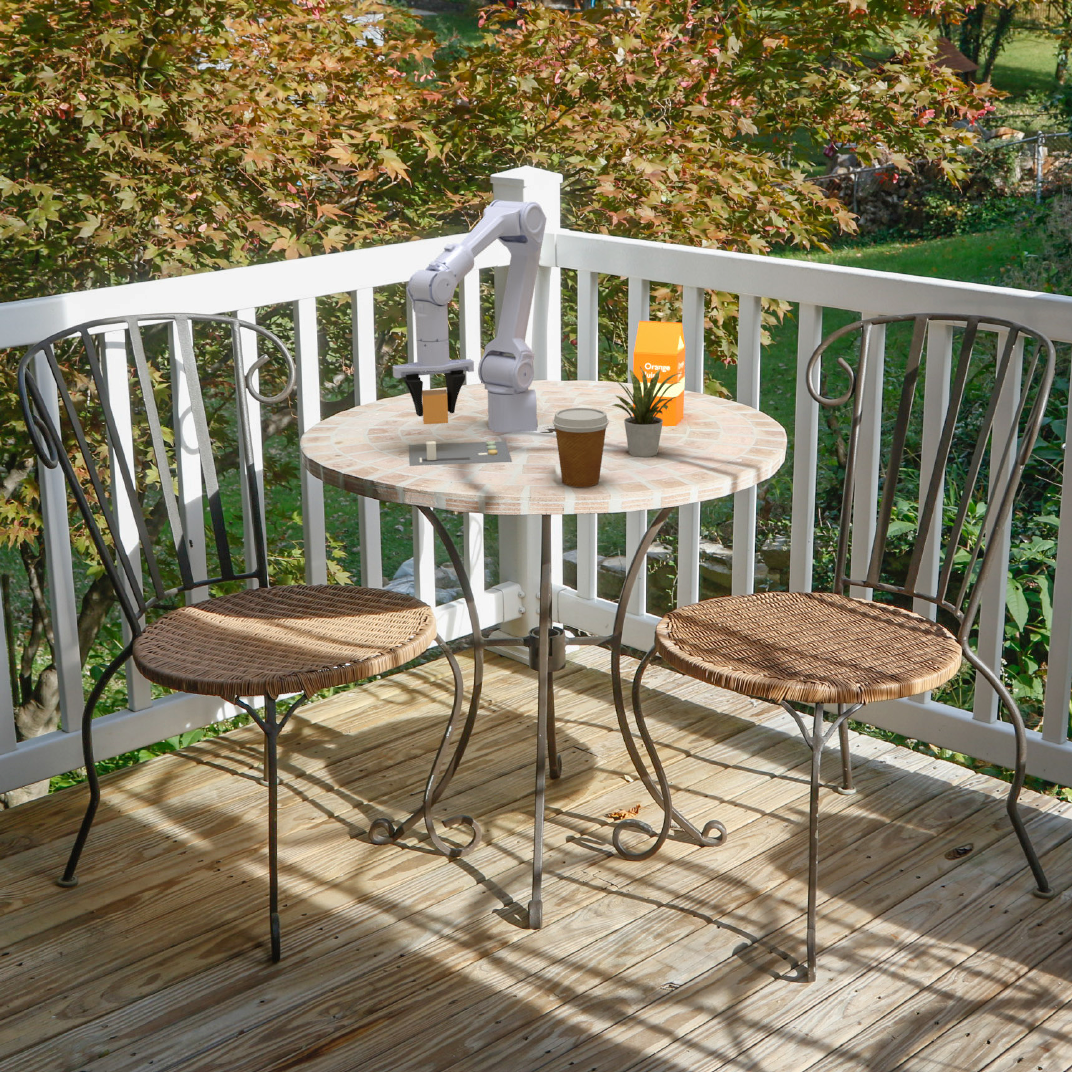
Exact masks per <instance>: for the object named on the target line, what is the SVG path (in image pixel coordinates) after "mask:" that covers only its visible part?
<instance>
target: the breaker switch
mask: <svg viewBox="0 0 1072 1072" xmlns="http://www.w3.org/2000/svg"><path fill="white" fill-rule="evenodd" d="M425 442H426V443H425V444H427V460H436V444H437V443H436V442H437V441H435V440H434V441H425Z"/></svg>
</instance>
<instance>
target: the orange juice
mask: <svg viewBox="0 0 1072 1072" xmlns="http://www.w3.org/2000/svg"><path fill="white" fill-rule="evenodd" d="M637 327H638V328H637V332H636V339H635V344H634V349H633V364H632V365H633V369H632V370H633V372H634V374H635V375H636V377H637V378H638V379H639V381H640V383H642V382H643V380H642V376H643V374H642V376H641V373H642V371H641V369H640V367H641V368H642V369H643V370H644V372H645V374H646V376H647V382H648V387H649V385H650V380H651V379H652V378H653V377H654V375H655V373H656V372H657V371H658V370H659V369H661V371H660V376H659V380H658V382H657V385H656V388H655V391H654V395H655V393H656V391H657V390H658V388H659V386H660V385H661V384H662V382H663V381H664V380H665V379H666V378H668V377H669V376H671V375H673V374H677V373H683V374H678V375H676V376H674V377H673V378H671V379H670V380H669V381H675V382H669V381H667V382H668V383H667V382H666V384H665V385H664V386H663V387H662V389H661V390H660V392H659V393H658V395H657V396H656V398H655V400H654V402H653V403H652V405H651V407H652V406H653V405H654V404H655V402H657V401H658V400H659V398H660V397H661V395H662V393H663V392H664V391H665V389H666V388H667V387H668V386H670V385H671V384H673V383H676V382H682V383H677V384H674V385H673V386H671V387H670V388H669V389H668V390H667V391H666V392H665V394H664V395H663V396H662V398H661V399H668V400H669V399H670V398H673V397H676V396H681V397H676V398H674V399H672V401H673V402H674V403H673V402H672V401H670V402H668V403H667V404H666V405H667V406H668V408H667V411H666V409H664V408H662V409H661V411H662V412H663V415H662V414H661V413H658V414H657V415H656V417H658V418H661V419H662V420H663V424H662V427H668V426H676V425H677V424H678V425H679V424H680V422H681V421H682V420H684V410H685V405H684V404H685V403H684V402H685V383H686V382H685V379H686V377H685V375H686V371H685V369H686V367H685V366H686V364H685V363H686V343H685V336H684V328H683V323H682V322H676V321H675V322H673V321H671V322H670V321H653V320H652V321H651V320H650V321H649V320H638V326H637ZM639 365H640V366H639ZM638 368H639V369H640V370H639V369H638ZM640 371H641V373H640ZM641 390H642V397H643V383H642V384H641ZM654 395H653V396H654ZM632 400H633V399H632ZM668 400H665V401H662V402H661V403H659V404H658V405H657V406H656V407H658V406H662V405H663V404H664V403H665V402H666V401H668ZM633 401H634V400H633ZM632 406H634V407H635V405H634V404H633V403H632ZM660 408H661V407H659V408H658V409H657V410H659V409H660ZM650 409H651V408H650ZM655 414H656V412H655ZM655 414H654V415H655ZM632 416H634V414H633V413H632ZM681 419H682V420H681ZM678 425H677V426H678ZM677 426H676V427H677Z"/></svg>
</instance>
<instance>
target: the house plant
mask: <svg viewBox="0 0 1072 1072" xmlns="http://www.w3.org/2000/svg"><path fill="white" fill-rule="evenodd" d="M639 366H640V365H639ZM638 369H639V368H638ZM640 369H641V371H642V373H641V371H640V373H641V376H642V374H643V376H642V380H643V382H642V383H643V397H642V390H641V384H642V383H640V381H639V379H638V378H637V377H636V375H635V374H634V372H633V371H632V370H631V369H629V373H630V374H629V375H630V379H631V382H632V392H631V391H630V389H629V388H628V386H626V385H623V384H622V383H621V382H619V381H618V380H617V379H615V378H614V377H611V376H608V375H606V376H607V377H608V378H611V379H612V380H614V381H615V382H616V383H617V384H618V385H620V387H621V388H622V389H623V390H624V392H625V393H626V394H627V396H628V397H629V399H630V401H631V402H629V401H628V400H626V399H625V398H624V397H622V396H620V395H616V394H615V397H616V398H618V400H620V402H621V403H622V404H624V405H625V406H626V407H625V406H624V405H622V404H620V403H619V404H618V403H615V404H612V406H614V407H617V408H620V409H621V410H623V411H624V412H626V413H627V414H628V416H629V417H625V419H624V420H623V423H624V428H625V435H626V440H627V447H628V454H629V455H630V456H634V457H636V458H637V457H640V458H649V457H653V456H654V455H655V456H656V455H657V454H658V451H659V445H660V439H661V434H662V430H663V426H662V424H663V420H662V419H661V418H658V417H656V415H657V414H658V413H661V414H662V415H663V412H662V411H661V409H662V408H664V409H666V411H667V408H668V406H667V405H666V404H667V403H668V402H670V401H672V399H674V398H676V397H681V396H676V397H673V398H670V399H669V400H668V399H661V398H662V396H663V395H664V394H665V392H666V391H667V390H668V389H669V388H670V387H671V386H673V385H674V384H677V383H682V382H676V383H673V384H671V385H670V386H668V387H667V388H666V389H665V391H664V392H663V393H662V395H661V397H660V398H659V400H658V401H657V402H655V404H654V405H653V406H652V407H651V405H652V403H653V402H654V400H655V398H656V396H657V395H658V393H659V392H660V390H661V389H662V387H663V386H664V385H665V384H666V382H667V381H669V380H670V379H671V378H673V377H674V376H676V375H678V374H683V373H677V374H673V375H671V376H669V377H668V378H666V379H665V380H664V381H663V382H662V384H661V385H660V386H659V388H658V390H657V391H656V393H655V395H654V391H655V388H656V385H657V382H658V380H659V376H660V371H661V369H659V370H658V371H657V372H656V373H655V375H654V377H653V378H652V379H651V380H650V385H649V387H648V382H647V376H646V374H645V372H644V370H643V369H642V368H641V367H640ZM640 369H639V370H640ZM669 382H675V381H669ZM667 383H668V382H667ZM653 395H654V396H653ZM633 400H634V401H633ZM665 400H668V401H666V402H665V403H664V404H663V405H662V406H658V407H656V406H657V405H658V404H659V403H661V402H662V401H665ZM672 402H673V401H672ZM673 403H674V402H673ZM633 404H634V405H635V407H634V406H633ZM659 407H661V408H660V409H659V410H657V409H658V408H659ZM650 408H651V409H650ZM655 412H656V414H655ZM631 413H632V414H631ZM633 414H634V416H633ZM654 414H655V415H654Z"/></svg>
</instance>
